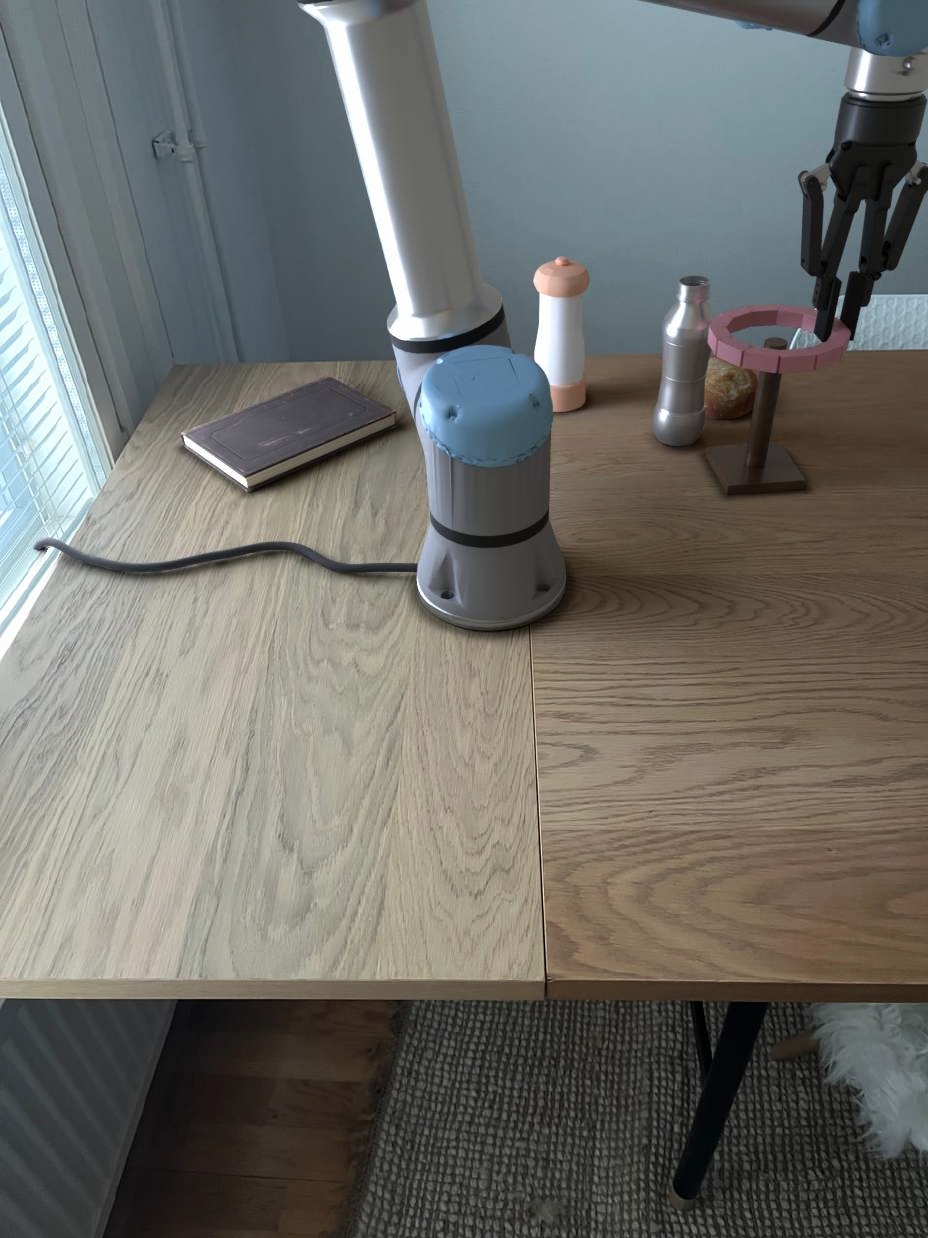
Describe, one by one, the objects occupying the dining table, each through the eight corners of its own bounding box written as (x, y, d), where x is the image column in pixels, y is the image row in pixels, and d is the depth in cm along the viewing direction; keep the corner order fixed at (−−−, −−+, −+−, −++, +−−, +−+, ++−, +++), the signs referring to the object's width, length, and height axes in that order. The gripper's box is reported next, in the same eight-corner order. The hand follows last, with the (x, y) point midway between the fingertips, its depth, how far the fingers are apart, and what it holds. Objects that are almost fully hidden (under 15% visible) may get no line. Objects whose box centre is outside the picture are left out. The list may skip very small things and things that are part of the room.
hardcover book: (397, 426, 125) (396, 410, 124) (247, 492, 114) (244, 476, 112) (328, 388, 135) (326, 373, 133) (183, 446, 123) (179, 430, 122)
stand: (726, 494, 109) (747, 362, 99) (705, 455, 116) (723, 327, 106) (803, 489, 109) (832, 356, 99) (778, 450, 116) (802, 322, 106)
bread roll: (674, 416, 131) (658, 373, 126) (733, 372, 131) (720, 327, 126) (718, 447, 124) (702, 403, 119) (780, 401, 124) (768, 354, 119)
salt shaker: (526, 409, 127) (526, 265, 115) (538, 385, 133) (540, 245, 120) (579, 414, 125) (585, 269, 113) (590, 390, 131) (597, 249, 119)
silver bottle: (642, 446, 118) (657, 287, 106) (660, 422, 123) (676, 267, 110) (693, 456, 116) (714, 295, 103) (709, 432, 120) (731, 274, 108)
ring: (726, 376, 97) (728, 360, 96) (696, 323, 108) (698, 308, 107) (865, 368, 97) (869, 351, 96) (820, 316, 108) (823, 300, 107)
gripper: (820, 105, 84) (776, 356, 99) (984, 95, 85) (916, 345, 100) (791, 88, 90) (754, 327, 105) (946, 78, 91) (886, 318, 106)
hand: (833, 336), depth 102 cm, fingers closed on ring, 2 cm apart
